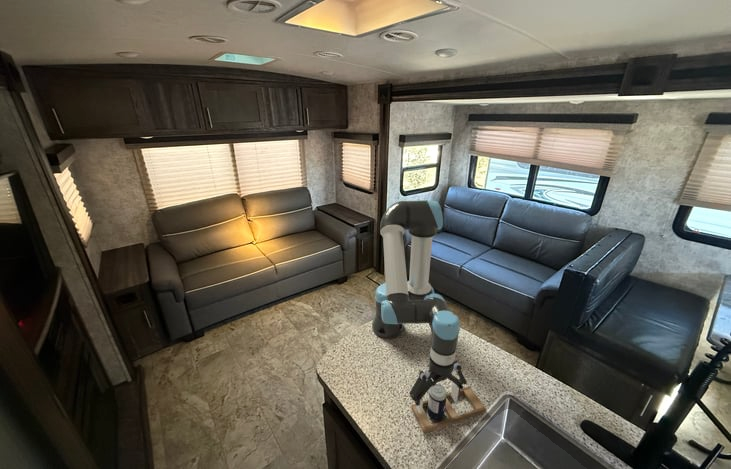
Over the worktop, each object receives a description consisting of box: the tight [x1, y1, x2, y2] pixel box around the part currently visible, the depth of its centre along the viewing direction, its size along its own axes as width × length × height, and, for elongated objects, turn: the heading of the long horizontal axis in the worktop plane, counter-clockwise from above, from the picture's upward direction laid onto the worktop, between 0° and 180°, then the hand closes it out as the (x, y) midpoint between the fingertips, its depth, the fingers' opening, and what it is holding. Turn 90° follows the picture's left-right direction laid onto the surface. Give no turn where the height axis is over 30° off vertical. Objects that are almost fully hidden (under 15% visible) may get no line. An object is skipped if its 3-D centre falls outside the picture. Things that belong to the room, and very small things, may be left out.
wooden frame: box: [410, 386, 487, 435], centre depth 99 cm, size 9×24×2 cm, turn 107°
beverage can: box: [426, 383, 448, 422], centre depth 96 cm, size 6×6×12 cm
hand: (436, 404), depth 96 cm, fingers open, 13 cm apart
